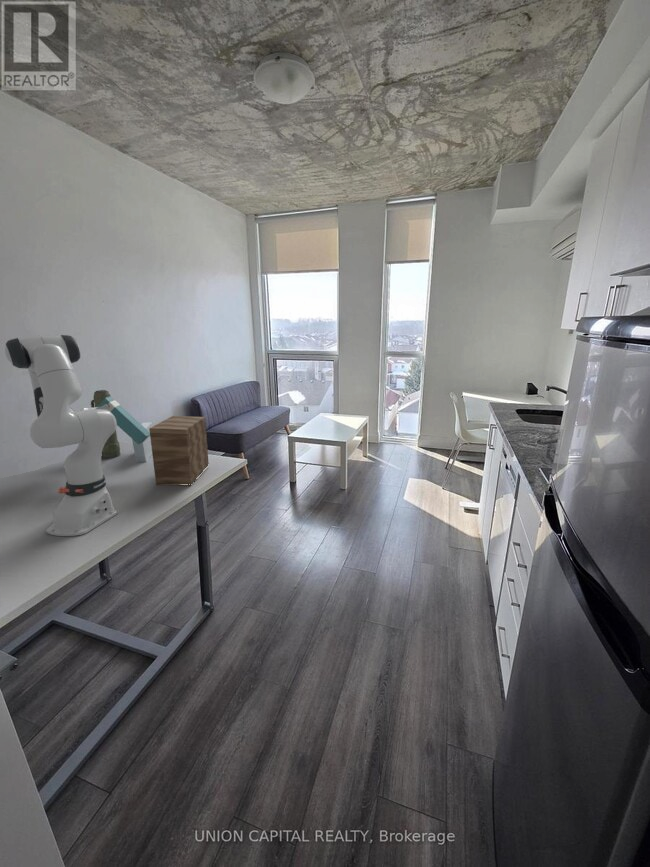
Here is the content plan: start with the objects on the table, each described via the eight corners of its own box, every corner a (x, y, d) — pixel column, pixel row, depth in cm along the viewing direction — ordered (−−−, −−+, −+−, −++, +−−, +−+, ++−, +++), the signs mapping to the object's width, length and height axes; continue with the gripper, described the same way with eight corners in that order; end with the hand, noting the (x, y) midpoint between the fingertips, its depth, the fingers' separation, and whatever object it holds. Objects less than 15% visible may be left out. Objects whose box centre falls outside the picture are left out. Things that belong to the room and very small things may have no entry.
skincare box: (146, 449, 205) (142, 422, 201) (156, 448, 206) (153, 422, 202) (134, 462, 185) (130, 433, 181) (146, 462, 186) (142, 432, 182)
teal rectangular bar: (138, 444, 166) (146, 436, 165) (97, 407, 162) (105, 397, 160) (143, 442, 170) (151, 433, 169) (102, 405, 166) (110, 396, 164)
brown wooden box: (191, 485, 161) (186, 429, 153) (156, 484, 161) (149, 428, 154) (208, 467, 182) (205, 417, 174) (177, 466, 182) (172, 415, 175)
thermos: (119, 458, 191) (110, 392, 181) (95, 458, 190) (84, 392, 179) (126, 452, 199) (117, 389, 189) (103, 452, 198) (93, 389, 188)
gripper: (67, 417, 155) (92, 402, 152) (98, 407, 174) (120, 393, 172) (76, 430, 156) (101, 415, 154) (106, 418, 176) (128, 405, 173)
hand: (111, 404), depth 163 cm, fingers closed on teal rectangular bar, 4 cm apart
